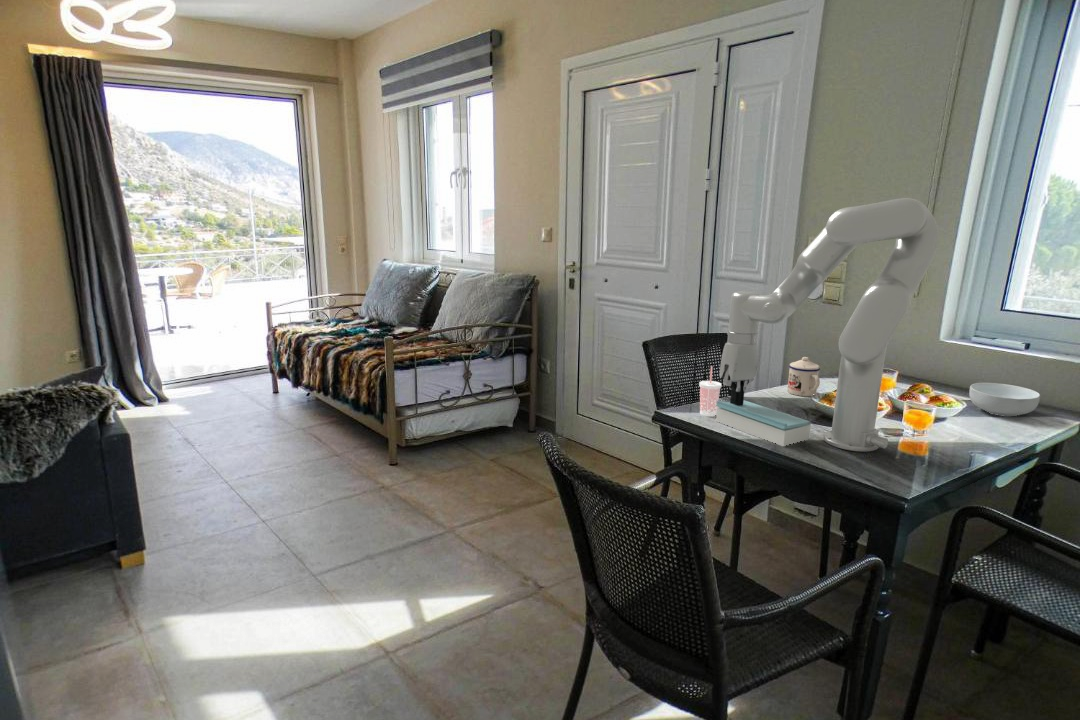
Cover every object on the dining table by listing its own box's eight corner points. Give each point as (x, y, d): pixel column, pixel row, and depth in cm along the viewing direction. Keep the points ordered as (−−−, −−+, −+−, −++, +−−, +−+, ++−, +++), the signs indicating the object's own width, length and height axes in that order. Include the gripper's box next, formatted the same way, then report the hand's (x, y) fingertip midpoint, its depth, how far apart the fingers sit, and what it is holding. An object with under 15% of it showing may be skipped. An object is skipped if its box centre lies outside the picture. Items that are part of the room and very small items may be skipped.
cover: (810, 424, 163) (811, 419, 162) (784, 429, 157) (784, 424, 157) (742, 402, 181) (742, 397, 180) (716, 405, 175) (716, 401, 175)
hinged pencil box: (808, 439, 163) (810, 424, 163) (783, 446, 158) (784, 431, 157) (740, 415, 182) (742, 402, 181) (715, 421, 176) (717, 407, 176)
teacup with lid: (780, 389, 208) (784, 354, 206) (804, 388, 211) (808, 353, 208) (803, 400, 197) (808, 363, 194) (829, 398, 199) (833, 362, 197)
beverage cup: (720, 412, 184) (724, 365, 181) (717, 418, 179) (721, 369, 176) (699, 409, 187) (702, 362, 184) (695, 415, 181) (698, 367, 178)
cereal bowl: (963, 401, 199) (966, 379, 197) (1028, 409, 191) (1033, 386, 190) (970, 416, 184) (974, 392, 182) (1041, 426, 177) (1047, 401, 175)
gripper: (750, 333, 178) (744, 397, 182) (711, 338, 170) (706, 404, 174) (772, 338, 171) (766, 403, 176) (733, 343, 164) (727, 412, 168)
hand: (736, 404), depth 175 cm, fingers closed
